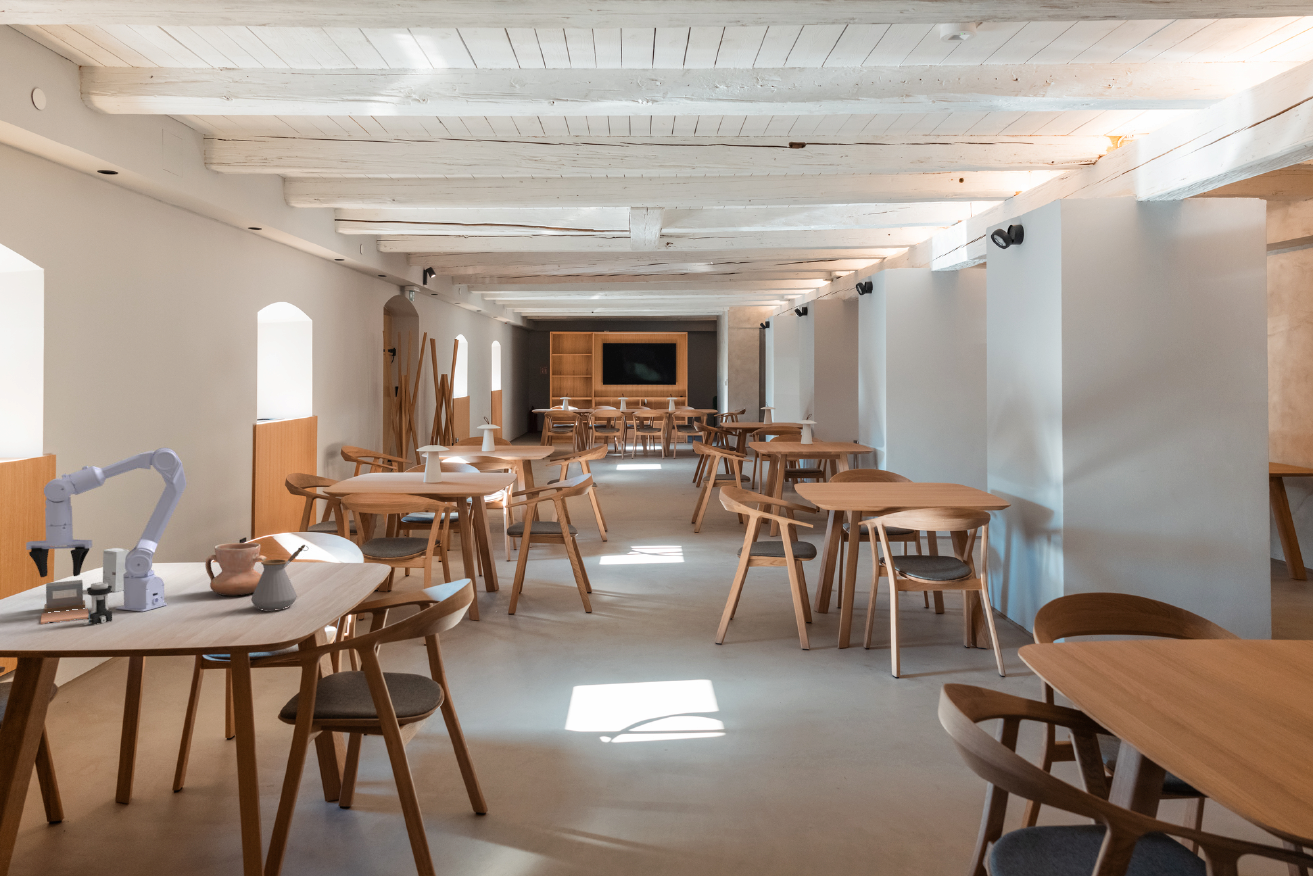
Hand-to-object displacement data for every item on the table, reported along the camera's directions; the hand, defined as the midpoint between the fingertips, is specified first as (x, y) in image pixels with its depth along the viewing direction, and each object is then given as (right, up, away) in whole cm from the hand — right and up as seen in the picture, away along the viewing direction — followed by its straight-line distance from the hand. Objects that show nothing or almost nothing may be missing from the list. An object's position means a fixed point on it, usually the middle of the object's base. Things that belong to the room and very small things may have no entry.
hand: (60, 576), depth 220 cm
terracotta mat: (+2, -11, -2) cm, 11 cm away
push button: (+14, -11, -7) cm, 19 cm away
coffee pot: (+52, -11, +16) cm, 55 cm away
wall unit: (-4, -10, +7) cm, 13 cm away
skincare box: (-4, -9, +30) cm, 31 cm away
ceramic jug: (+32, -10, +28) cm, 44 cm away
